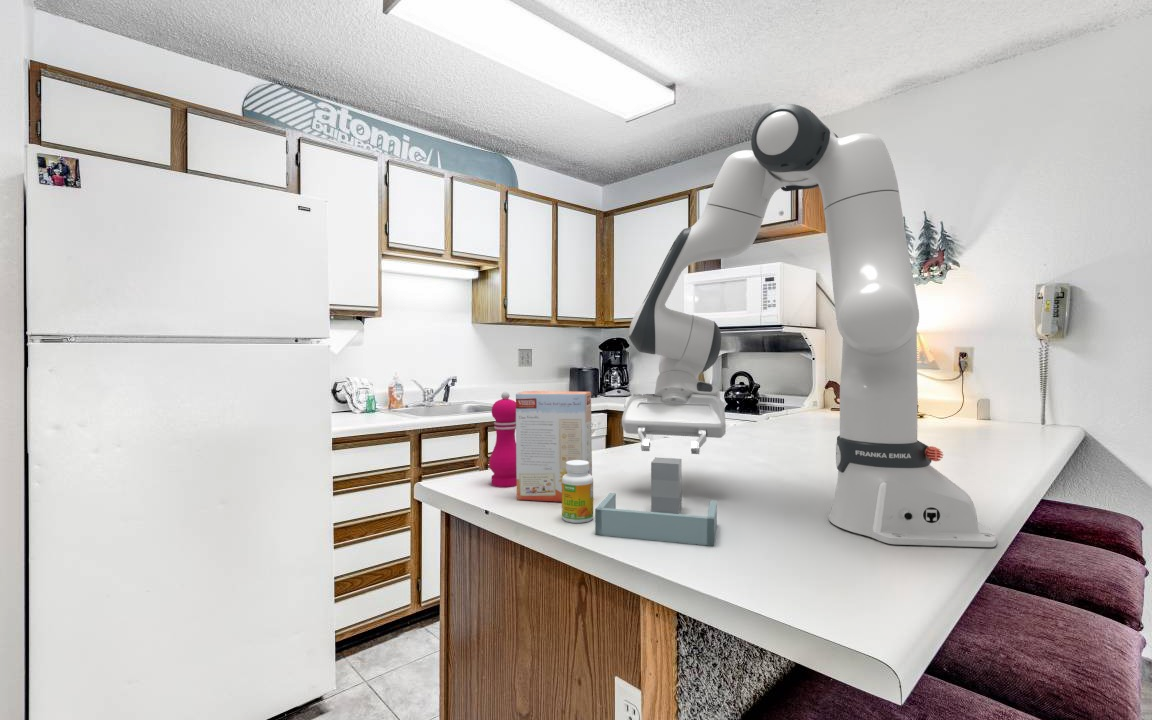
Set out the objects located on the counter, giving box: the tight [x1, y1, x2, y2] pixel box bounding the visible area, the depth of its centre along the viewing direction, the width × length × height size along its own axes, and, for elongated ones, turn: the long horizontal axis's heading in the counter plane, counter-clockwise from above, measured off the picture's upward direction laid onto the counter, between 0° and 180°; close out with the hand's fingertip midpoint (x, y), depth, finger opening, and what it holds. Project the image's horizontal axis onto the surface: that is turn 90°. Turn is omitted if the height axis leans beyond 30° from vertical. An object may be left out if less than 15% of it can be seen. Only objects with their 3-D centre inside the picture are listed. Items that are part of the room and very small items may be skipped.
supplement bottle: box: [561, 460, 594, 524], centre depth 92 cm, size 5×5×10 cm
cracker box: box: [515, 390, 593, 503], centre depth 105 cm, size 14×6×21 cm, turn 77°
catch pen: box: [594, 492, 718, 547], centre depth 86 cm, size 18×10×4 cm, turn 73°
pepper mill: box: [488, 391, 517, 488], centre depth 117 cm, size 7×7×20 cm
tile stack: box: [650, 457, 683, 514], centre depth 97 cm, size 5×5×9 cm
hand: (669, 450), depth 102 cm, fingers open, 8 cm apart
